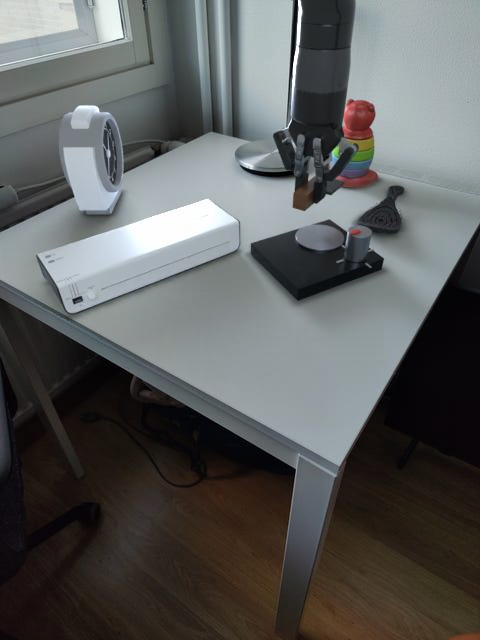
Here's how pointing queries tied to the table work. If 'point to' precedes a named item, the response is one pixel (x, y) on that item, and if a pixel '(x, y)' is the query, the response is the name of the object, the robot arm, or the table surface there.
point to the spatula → (305, 193)
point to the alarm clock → (92, 158)
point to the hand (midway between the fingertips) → (309, 198)
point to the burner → (319, 238)
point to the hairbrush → (384, 213)
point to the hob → (310, 264)
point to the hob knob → (357, 243)
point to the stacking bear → (358, 131)
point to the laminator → (138, 254)
